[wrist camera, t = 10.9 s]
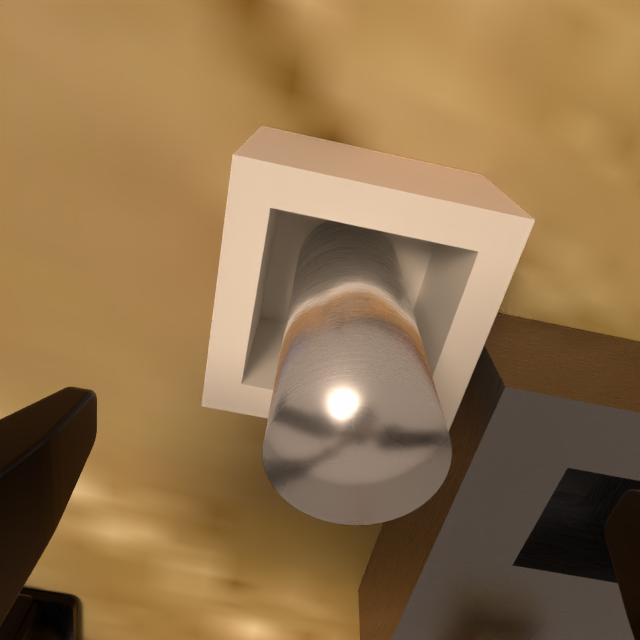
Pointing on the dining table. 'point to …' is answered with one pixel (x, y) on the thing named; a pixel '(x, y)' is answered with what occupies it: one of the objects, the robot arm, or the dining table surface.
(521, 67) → the dining table surface
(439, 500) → the socket block
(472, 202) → the white open box
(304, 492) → the silver metal cylinder
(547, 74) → the dining table surface
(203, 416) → the dining table surface
